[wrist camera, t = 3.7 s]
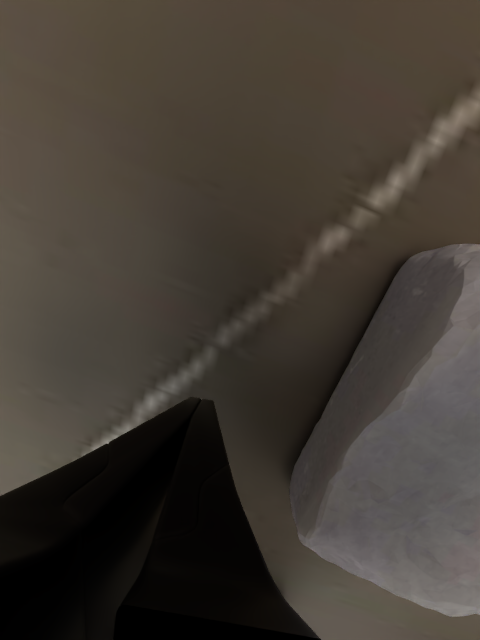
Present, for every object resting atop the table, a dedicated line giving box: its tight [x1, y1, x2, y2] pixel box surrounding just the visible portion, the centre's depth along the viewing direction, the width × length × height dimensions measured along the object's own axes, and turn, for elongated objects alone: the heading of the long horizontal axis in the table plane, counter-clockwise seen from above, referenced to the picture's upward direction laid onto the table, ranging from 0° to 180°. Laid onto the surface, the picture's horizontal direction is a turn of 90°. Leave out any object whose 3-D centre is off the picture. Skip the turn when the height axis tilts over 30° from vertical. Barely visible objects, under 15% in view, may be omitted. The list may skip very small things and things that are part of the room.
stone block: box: [289, 244, 480, 617], centre depth 8 cm, size 12×5×10 cm
